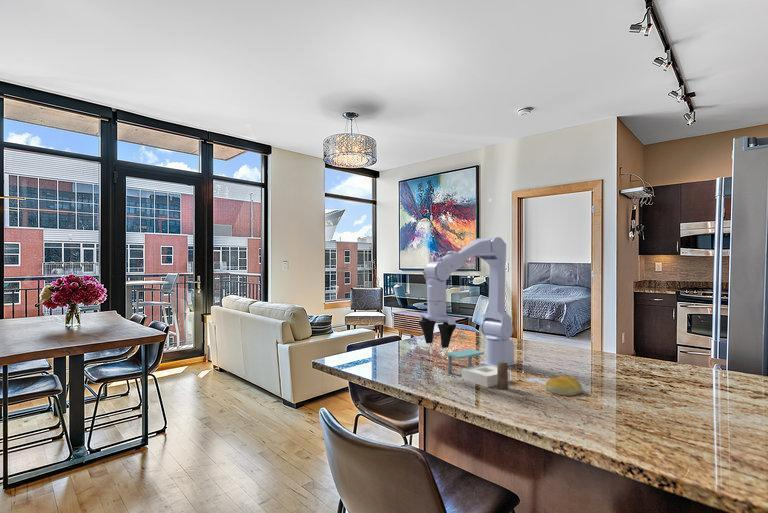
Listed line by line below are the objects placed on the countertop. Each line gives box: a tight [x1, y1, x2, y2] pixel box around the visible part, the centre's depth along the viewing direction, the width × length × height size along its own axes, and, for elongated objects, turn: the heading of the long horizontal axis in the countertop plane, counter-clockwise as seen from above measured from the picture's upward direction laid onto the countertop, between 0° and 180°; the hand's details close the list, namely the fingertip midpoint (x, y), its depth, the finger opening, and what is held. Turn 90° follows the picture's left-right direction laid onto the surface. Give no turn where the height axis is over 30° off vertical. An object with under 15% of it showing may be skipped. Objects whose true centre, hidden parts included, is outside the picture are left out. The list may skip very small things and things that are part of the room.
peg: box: [496, 362, 509, 391], centre depth 111 cm, size 3×3×7 cm
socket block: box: [461, 363, 511, 388], centre depth 119 cm, size 10×10×3 cm
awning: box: [445, 348, 485, 375], centre depth 127 cm, size 11×6×6 cm, turn 124°
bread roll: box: [545, 375, 583, 397], centre depth 108 cm, size 8×9×4 cm
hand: (437, 345), depth 121 cm, fingers open, 7 cm apart
